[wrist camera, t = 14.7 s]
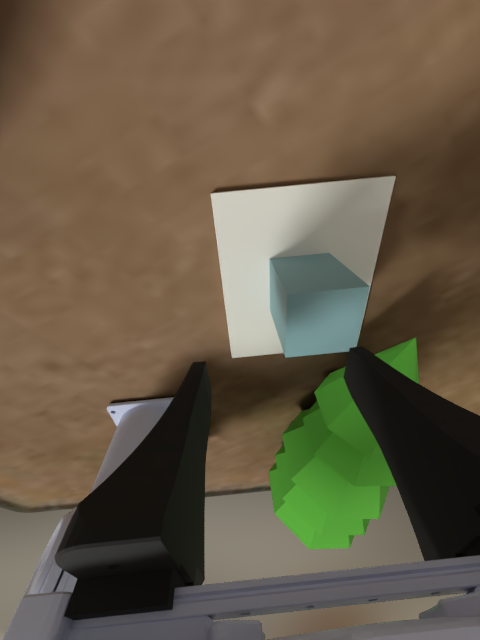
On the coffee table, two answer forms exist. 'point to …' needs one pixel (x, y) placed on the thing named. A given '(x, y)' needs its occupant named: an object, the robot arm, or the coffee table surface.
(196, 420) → the robot arm
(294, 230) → the off-white tile
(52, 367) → the coffee table surface
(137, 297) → the coffee table surface
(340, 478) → the decorative tree
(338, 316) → the teal block
